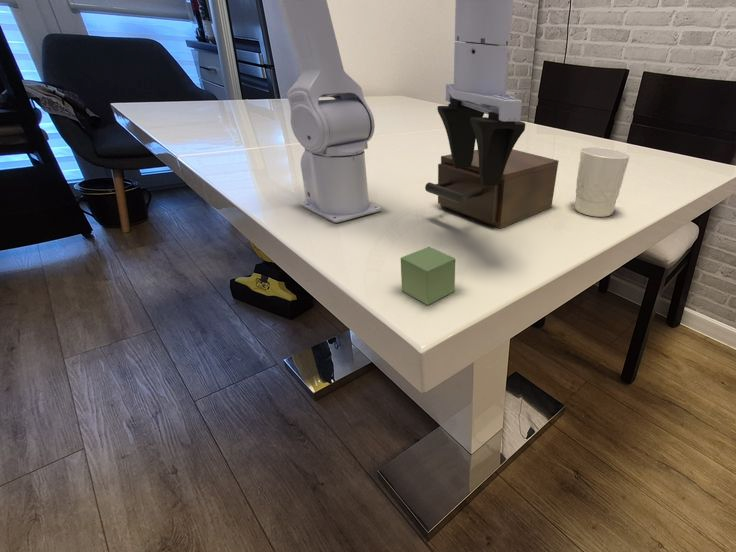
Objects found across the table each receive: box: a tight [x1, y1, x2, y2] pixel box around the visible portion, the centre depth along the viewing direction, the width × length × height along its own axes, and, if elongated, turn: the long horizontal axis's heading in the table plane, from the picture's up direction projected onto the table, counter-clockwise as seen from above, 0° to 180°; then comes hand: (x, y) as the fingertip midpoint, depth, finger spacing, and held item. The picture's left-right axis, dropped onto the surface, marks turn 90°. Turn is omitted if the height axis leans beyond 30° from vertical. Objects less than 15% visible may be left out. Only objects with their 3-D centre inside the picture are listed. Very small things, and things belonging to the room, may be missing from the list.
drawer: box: [424, 162, 501, 224], centre depth 64 cm, size 18×11×6 cm, turn 142°
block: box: [400, 246, 456, 306], centre depth 42 cm, size 4×4×4 cm
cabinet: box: [440, 148, 559, 229], centre depth 66 cm, size 15×13×8 cm
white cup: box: [574, 146, 630, 218], centre depth 68 cm, size 8×8×10 cm
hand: (475, 175), depth 48 cm, fingers open, 7 cm apart
